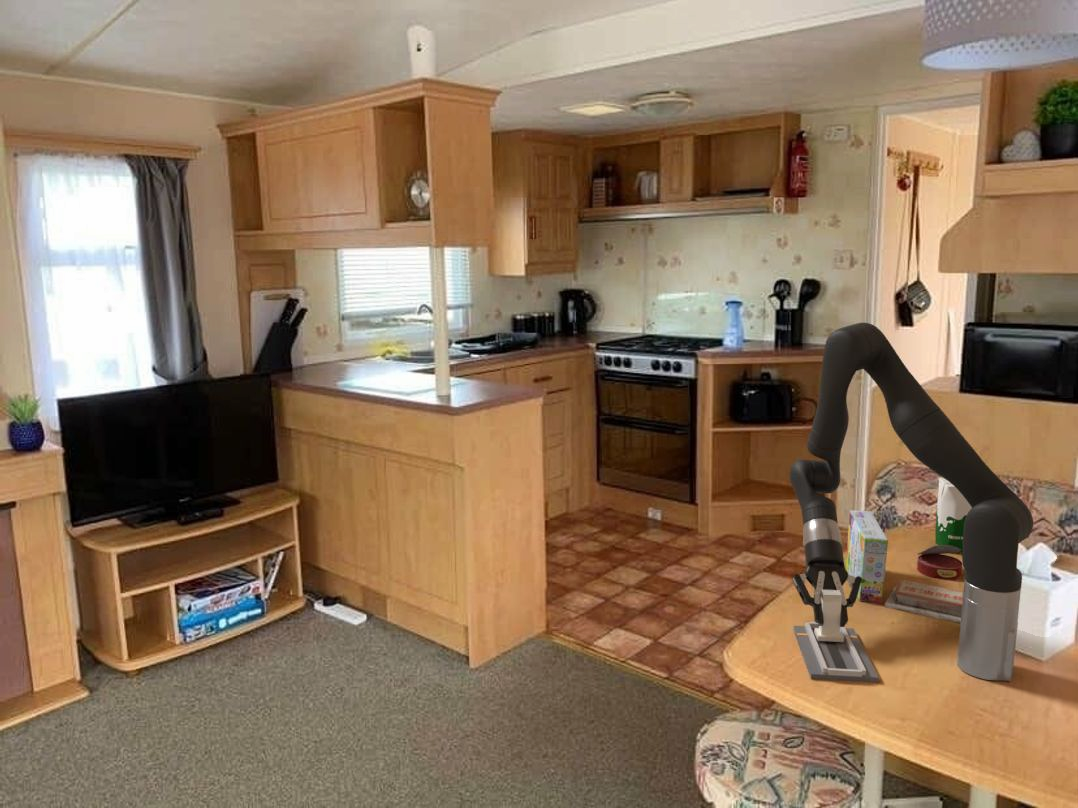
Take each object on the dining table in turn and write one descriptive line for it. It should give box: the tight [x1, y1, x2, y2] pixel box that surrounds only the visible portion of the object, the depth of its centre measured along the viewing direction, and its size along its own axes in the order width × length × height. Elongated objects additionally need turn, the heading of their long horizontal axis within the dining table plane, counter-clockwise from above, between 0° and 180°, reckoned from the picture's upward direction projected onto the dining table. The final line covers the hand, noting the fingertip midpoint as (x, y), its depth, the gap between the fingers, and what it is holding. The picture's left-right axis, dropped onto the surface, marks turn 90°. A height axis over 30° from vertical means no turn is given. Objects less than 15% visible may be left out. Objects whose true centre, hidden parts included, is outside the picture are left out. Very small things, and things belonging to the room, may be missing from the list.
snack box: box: [845, 509, 889, 603], centre depth 195 cm, size 21×6×15 cm, turn 168°
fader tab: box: [814, 590, 844, 642], centre depth 166 cm, size 5×4×10 cm
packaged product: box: [884, 579, 963, 624], centre depth 183 cm, size 18×5×10 cm
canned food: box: [916, 545, 963, 581], centre depth 202 cm, size 11×10×10 cm
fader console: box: [792, 621, 880, 684], centre depth 163 cm, size 12×20×2 cm, turn 172°
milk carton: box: [934, 477, 972, 554], centre depth 216 cm, size 9×9×20 cm
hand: (832, 624), depth 165 cm, fingers closed on fader tab, 3 cm apart
